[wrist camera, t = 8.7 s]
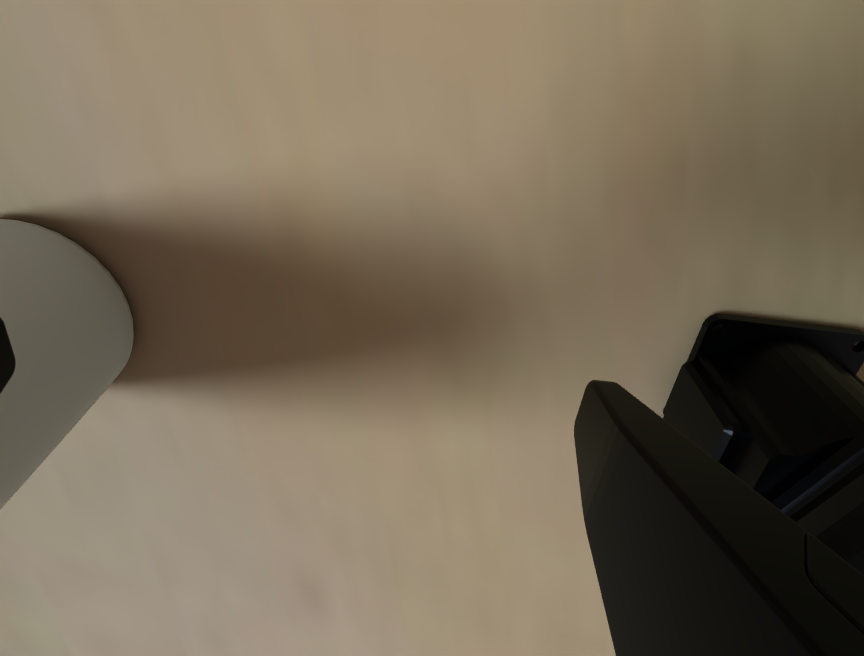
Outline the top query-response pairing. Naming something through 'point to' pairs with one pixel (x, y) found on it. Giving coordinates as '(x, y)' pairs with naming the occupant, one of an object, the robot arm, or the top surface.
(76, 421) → the milk bottle
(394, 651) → the top surface
